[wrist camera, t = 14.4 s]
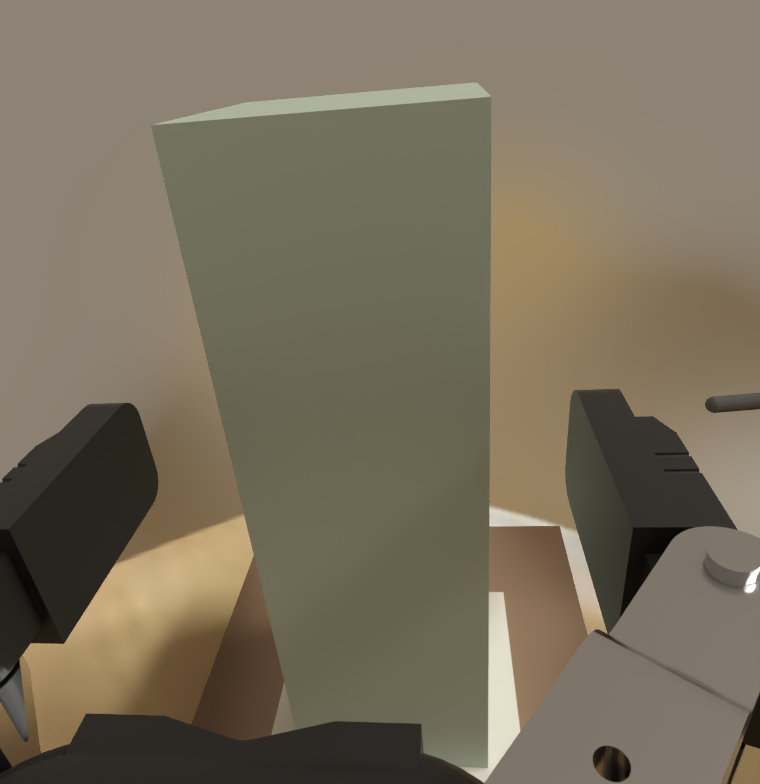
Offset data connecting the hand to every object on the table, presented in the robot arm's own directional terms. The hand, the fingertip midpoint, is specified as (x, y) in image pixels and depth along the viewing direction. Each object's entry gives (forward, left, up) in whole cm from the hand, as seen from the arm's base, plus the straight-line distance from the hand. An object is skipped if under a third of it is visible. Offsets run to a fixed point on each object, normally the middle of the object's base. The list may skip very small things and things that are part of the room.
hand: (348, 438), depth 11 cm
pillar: (0, -3, -10) cm, 11 cm away
